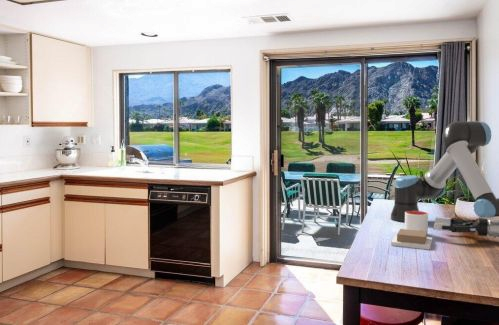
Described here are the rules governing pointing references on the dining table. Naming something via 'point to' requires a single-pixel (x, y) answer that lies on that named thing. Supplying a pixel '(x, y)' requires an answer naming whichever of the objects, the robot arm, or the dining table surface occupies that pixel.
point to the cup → (416, 220)
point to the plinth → (413, 245)
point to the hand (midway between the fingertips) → (434, 223)
